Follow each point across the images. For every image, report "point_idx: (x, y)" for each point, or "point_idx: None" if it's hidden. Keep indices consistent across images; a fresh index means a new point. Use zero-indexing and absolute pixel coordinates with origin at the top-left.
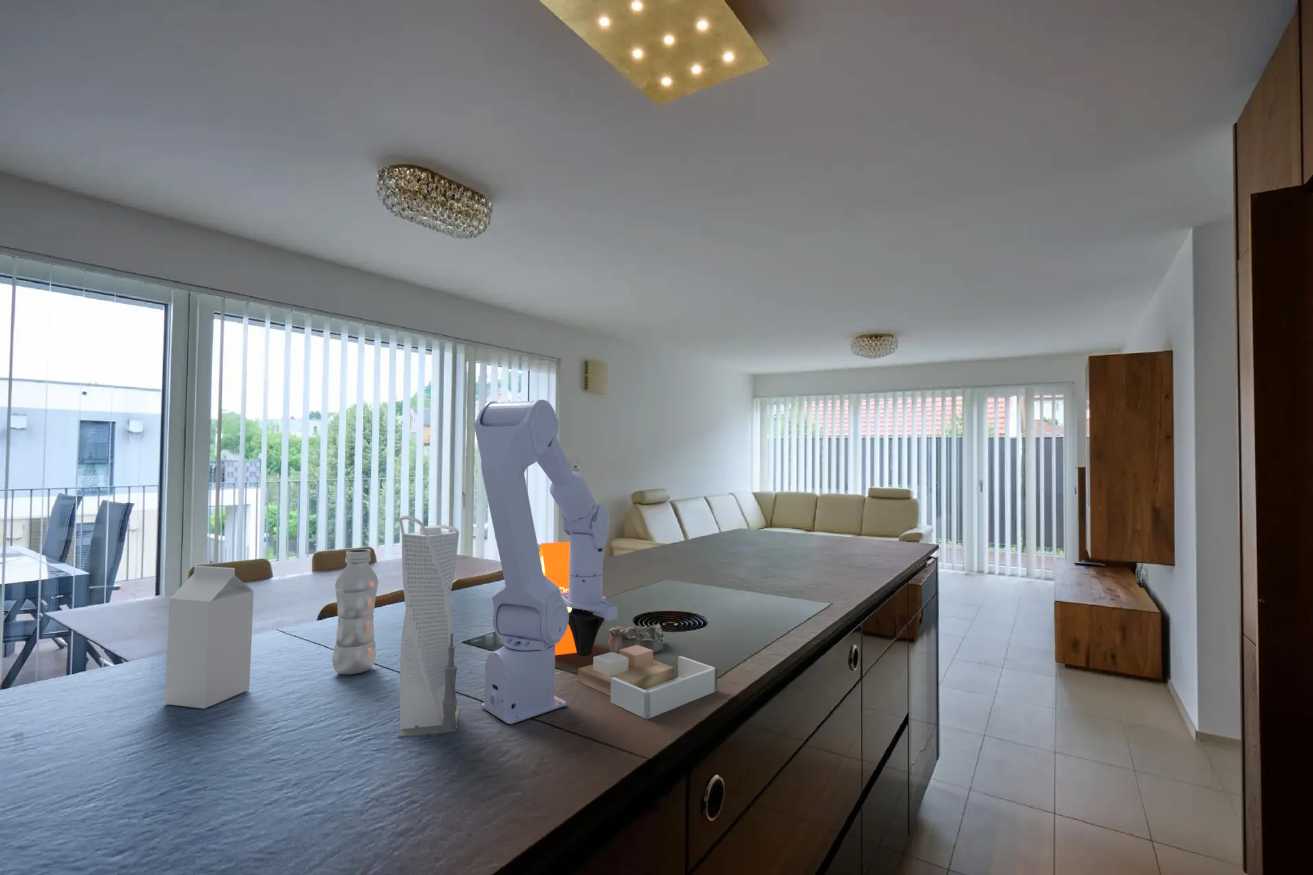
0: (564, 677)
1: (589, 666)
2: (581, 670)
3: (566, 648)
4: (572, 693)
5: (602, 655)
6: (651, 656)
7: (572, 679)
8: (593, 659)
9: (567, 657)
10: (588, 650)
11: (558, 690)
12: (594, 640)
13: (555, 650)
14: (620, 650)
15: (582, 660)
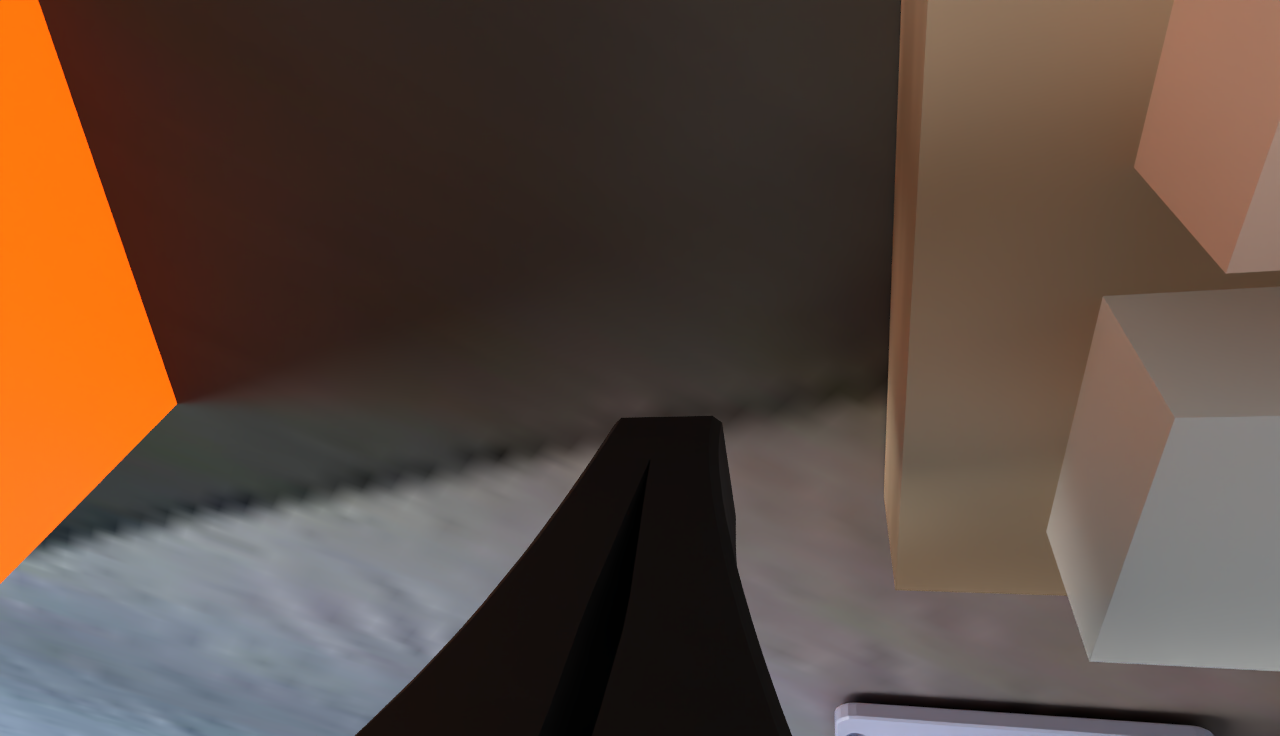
0: None
1: (929, 505)
2: (951, 585)
3: (71, 249)
4: (1060, 616)
5: (1158, 584)
6: None
7: (813, 499)
8: (1080, 630)
9: (239, 269)
10: (726, 505)
11: (930, 635)
12: (732, 554)
13: (117, 346)
14: (1270, 269)
15: (376, 197)
